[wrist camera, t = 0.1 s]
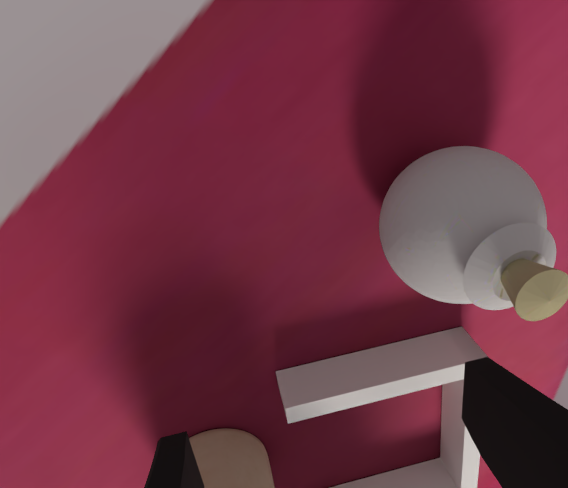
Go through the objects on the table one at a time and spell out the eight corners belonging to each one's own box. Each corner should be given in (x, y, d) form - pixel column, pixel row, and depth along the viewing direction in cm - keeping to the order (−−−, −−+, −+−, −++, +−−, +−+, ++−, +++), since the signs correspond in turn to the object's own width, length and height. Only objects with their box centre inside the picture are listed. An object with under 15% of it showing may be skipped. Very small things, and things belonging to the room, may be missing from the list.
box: (454, 464, 31) (475, 499, 29) (300, 506, 30) (310, 547, 28) (461, 326, 26) (488, 357, 23) (275, 371, 24) (285, 408, 22)
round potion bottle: (422, 99, 20) (621, 187, 11) (531, 192, 23) (754, 318, 14) (331, 217, 21) (439, 376, 12) (444, 289, 24) (594, 457, 16)
